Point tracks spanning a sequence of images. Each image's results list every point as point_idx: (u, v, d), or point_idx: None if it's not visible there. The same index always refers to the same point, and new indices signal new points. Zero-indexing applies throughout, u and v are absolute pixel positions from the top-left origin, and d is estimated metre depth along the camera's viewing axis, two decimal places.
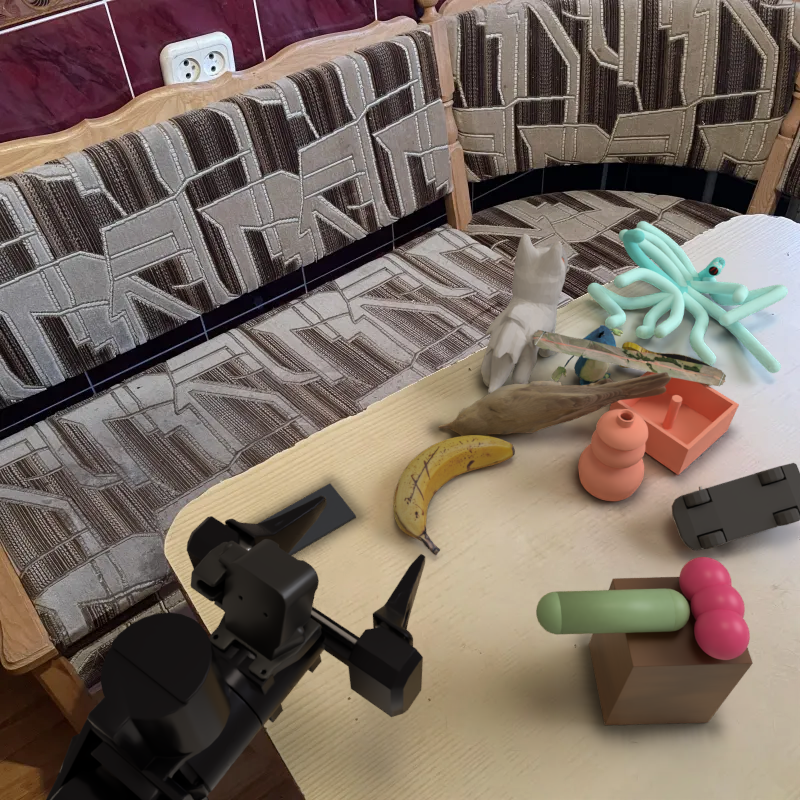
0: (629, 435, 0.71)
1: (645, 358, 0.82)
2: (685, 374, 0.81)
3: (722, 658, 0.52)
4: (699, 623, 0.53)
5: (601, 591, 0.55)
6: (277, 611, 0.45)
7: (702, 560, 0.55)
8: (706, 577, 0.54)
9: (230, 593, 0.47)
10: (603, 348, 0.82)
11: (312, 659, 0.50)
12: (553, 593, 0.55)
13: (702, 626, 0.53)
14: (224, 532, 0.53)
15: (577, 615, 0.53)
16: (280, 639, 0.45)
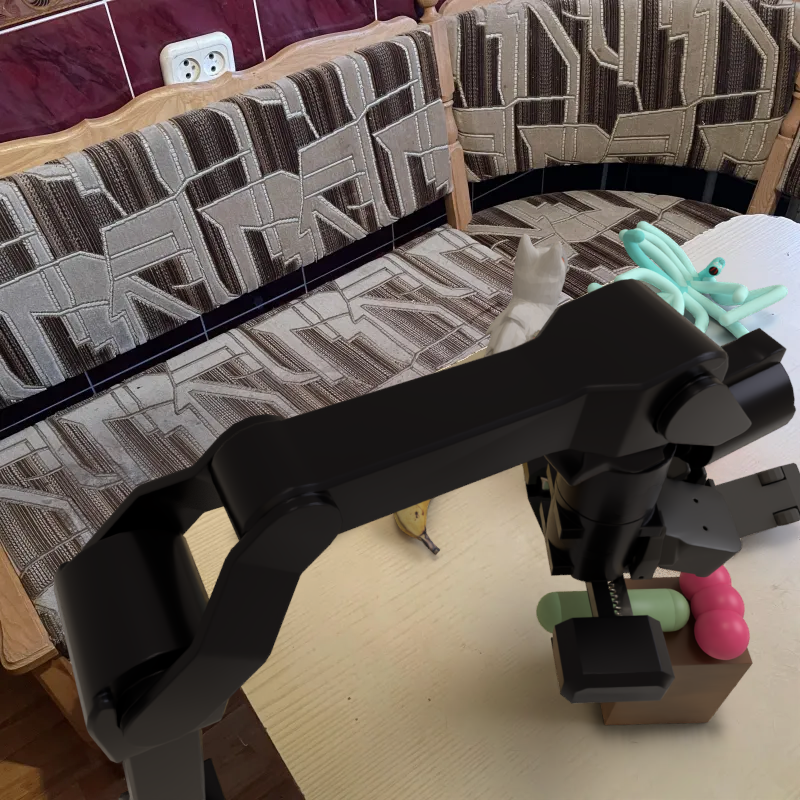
0: None
1: None
2: None
3: (722, 658, 0.52)
4: (699, 623, 0.53)
5: None
6: (722, 542, 0.45)
7: None
8: (706, 577, 0.54)
9: (689, 489, 0.47)
10: None
11: (603, 571, 0.45)
12: (553, 593, 0.55)
13: (702, 626, 0.53)
14: None
15: (577, 615, 0.53)
16: (696, 545, 0.44)
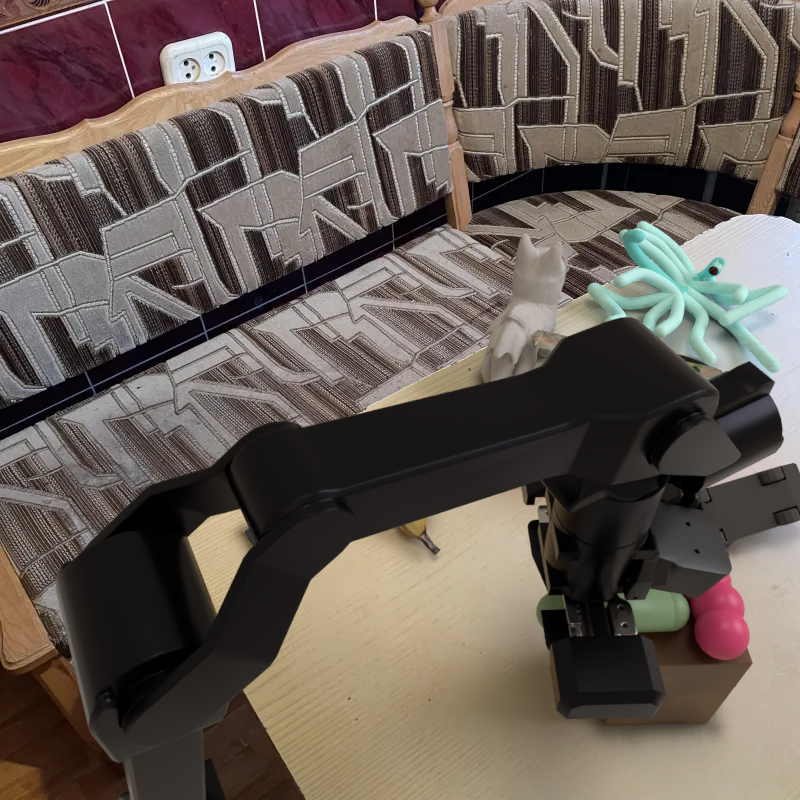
0: None
1: None
2: None
3: (722, 658, 0.52)
4: (699, 623, 0.53)
5: None
6: (712, 564, 0.47)
7: None
8: None
9: (681, 512, 0.49)
10: None
11: (598, 591, 0.47)
12: None
13: (702, 626, 0.53)
14: None
15: None
16: (687, 567, 0.46)
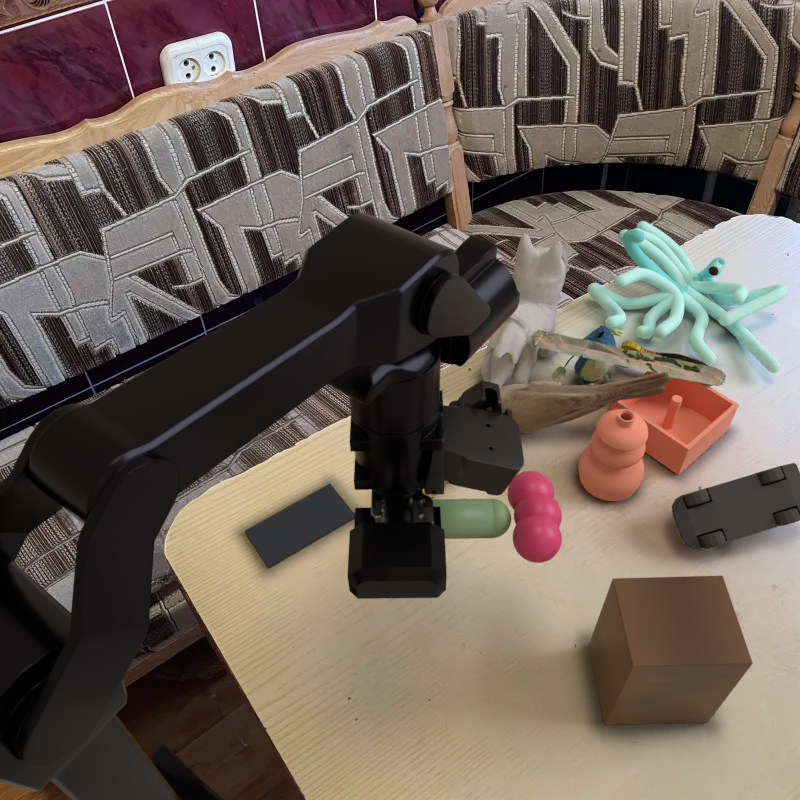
0: (629, 435, 0.71)
1: (645, 358, 0.82)
2: (685, 374, 0.81)
3: (534, 560, 0.55)
4: (515, 528, 0.56)
5: None
6: (504, 460, 0.50)
7: (526, 473, 0.58)
8: (527, 487, 0.57)
9: (484, 415, 0.52)
10: (603, 348, 0.82)
11: (397, 484, 0.50)
12: None
13: (517, 530, 0.56)
14: None
15: None
16: (477, 461, 0.49)
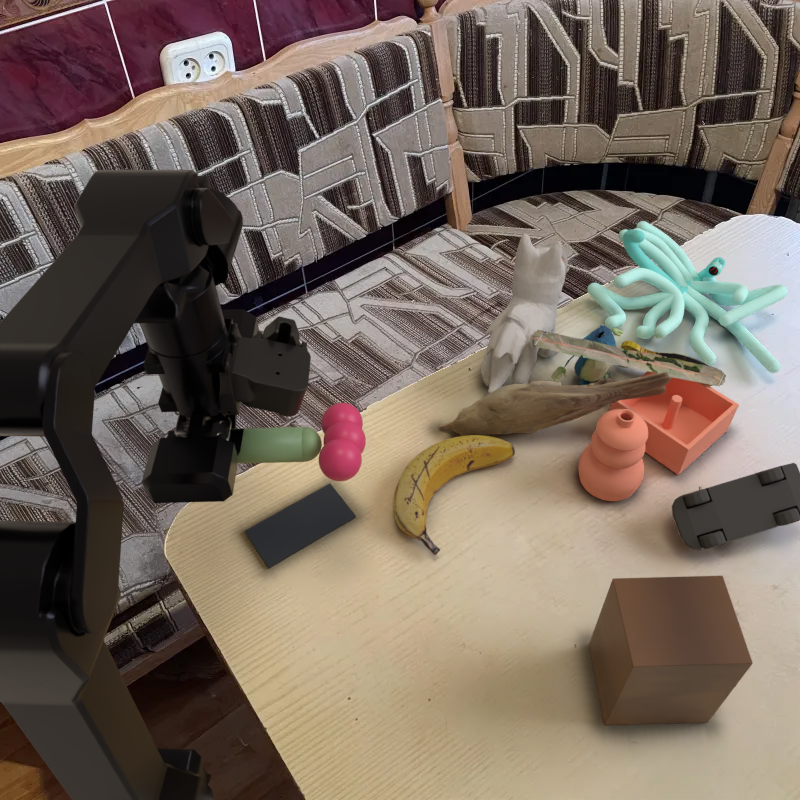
0: (629, 435, 0.71)
1: (645, 358, 0.82)
2: (685, 374, 0.81)
3: (335, 478, 0.62)
4: (320, 451, 0.63)
5: (247, 428, 0.65)
6: (288, 383, 0.57)
7: (337, 404, 0.65)
8: (334, 415, 0.64)
9: (278, 346, 0.59)
10: (603, 348, 0.82)
11: (195, 405, 0.57)
12: None
13: (320, 452, 0.63)
14: None
15: None
16: (261, 382, 0.56)
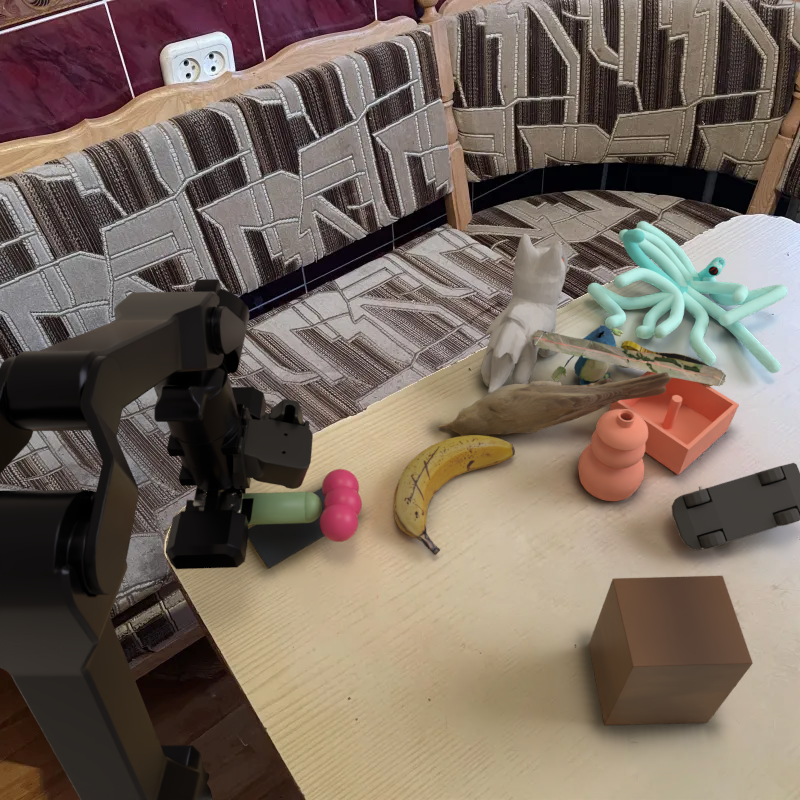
0: (629, 435, 0.71)
1: (645, 358, 0.82)
2: (685, 374, 0.81)
3: (334, 540, 0.70)
4: (321, 515, 0.71)
5: (256, 493, 0.72)
6: (293, 461, 0.64)
7: (336, 470, 0.73)
8: (333, 482, 0.72)
9: (284, 426, 0.67)
10: (603, 348, 0.82)
11: (211, 481, 0.64)
12: None
13: (321, 516, 0.70)
14: (263, 415, 0.73)
15: None
16: (269, 462, 0.64)
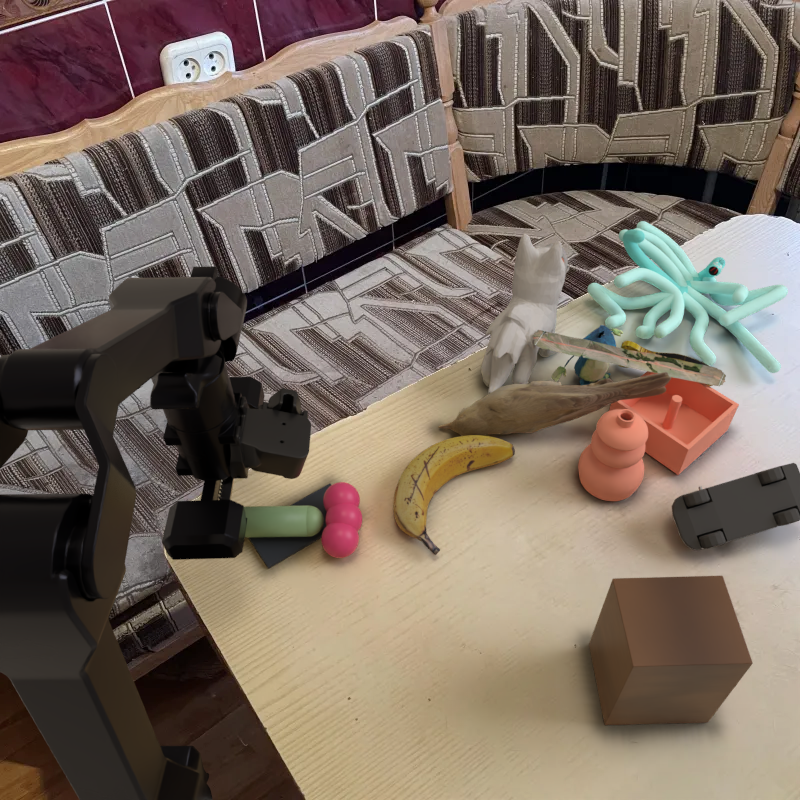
0: (629, 435, 0.71)
1: (645, 358, 0.82)
2: (685, 374, 0.81)
3: None
4: None
5: (258, 507, 0.74)
6: (291, 451, 0.64)
7: (337, 485, 0.74)
8: (334, 498, 0.73)
9: (282, 416, 0.66)
10: (603, 348, 0.82)
11: (208, 470, 0.64)
12: None
13: (323, 534, 0.72)
14: (262, 405, 0.72)
15: None
16: (267, 451, 0.63)
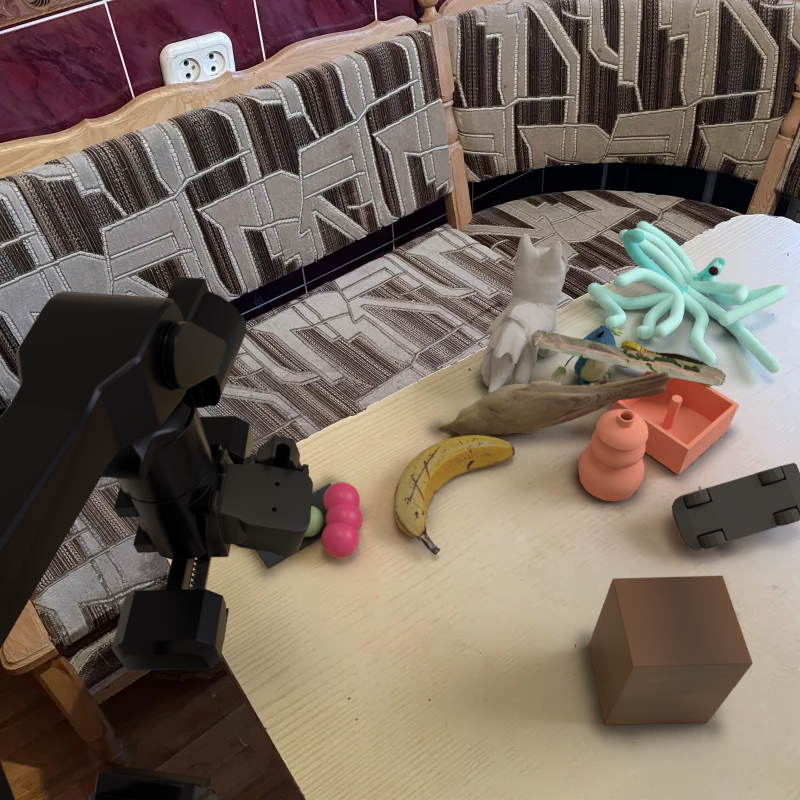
0: (629, 435, 0.71)
1: (645, 358, 0.82)
2: (685, 374, 0.81)
3: None
4: None
5: None
6: (286, 522, 0.48)
7: (337, 485, 0.74)
8: (334, 498, 0.73)
9: (275, 473, 0.50)
10: (603, 348, 0.82)
11: (176, 548, 0.48)
12: None
13: (323, 534, 0.72)
14: (250, 452, 0.57)
15: None
16: (254, 524, 0.47)
